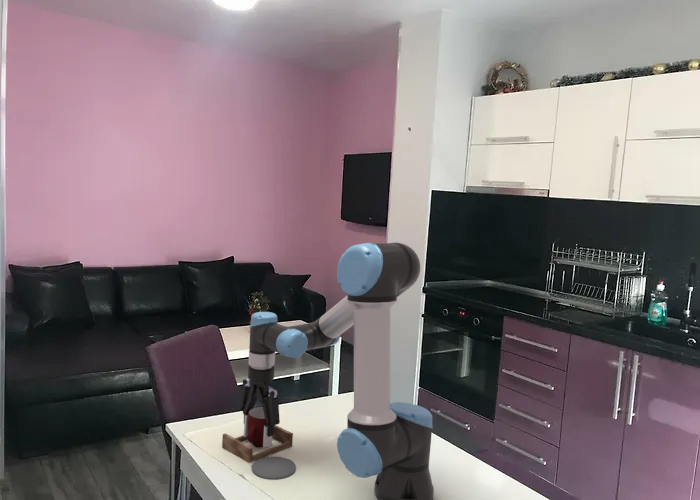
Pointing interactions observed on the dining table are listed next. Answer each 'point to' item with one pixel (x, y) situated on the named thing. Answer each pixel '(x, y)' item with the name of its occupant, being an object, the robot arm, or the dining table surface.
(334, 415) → the dining table surface
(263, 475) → the coaster
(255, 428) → the mug
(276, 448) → the wooden tray frame
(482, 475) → the dining table surface
